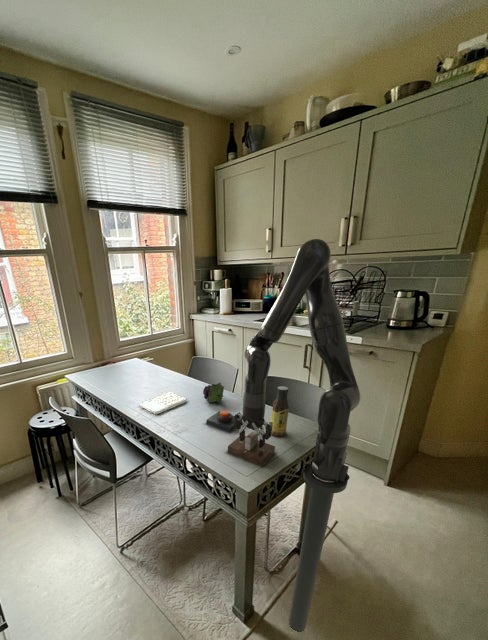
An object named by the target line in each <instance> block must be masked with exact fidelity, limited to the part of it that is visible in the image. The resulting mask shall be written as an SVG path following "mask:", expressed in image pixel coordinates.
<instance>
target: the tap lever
mask: <svg viewBox="0 0 488 640" xmlns="http://www.w3.org/2000/svg"><path fill="white" fill-rule="evenodd" d="M245 436H246V439H245V449H247V450H249V451H250V450H251V449H252V448H253V447H254V446H255V445H256V444H257V443H258V440H259V435H258V434H257V433H256V431H255V430H252V431H250V433H249V434H247V435H245Z"/></svg>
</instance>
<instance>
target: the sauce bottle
mask: <svg viewBox="0 0 488 640" xmlns="http://www.w3.org/2000/svg"><path fill="white" fill-rule="evenodd" d="M276 391H277V393H276V399H275V400H274V401H273V403H272V409H271V417H270V422H272V423H273V426H272V433H271V436H272V435H273V436H275V437H282V436H284V435H285V434H286V431H287V425H288V418H289V410H290V406H289V401H288V394H289V387H287V386H285V385H282V386H277V390H276Z"/></svg>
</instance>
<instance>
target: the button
mask: <svg viewBox="0 0 488 640" xmlns="http://www.w3.org/2000/svg"><path fill="white" fill-rule="evenodd" d="M229 413H230V412H229V411H228V410H221V411H220V416H221V417H223V418H227V417H228V416H229Z"/></svg>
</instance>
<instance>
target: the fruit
mask: <svg viewBox="0 0 488 640" xmlns="http://www.w3.org/2000/svg"><path fill="white" fill-rule="evenodd" d="M224 390H225V385H224V386H223V385H222V383H221V382H218V383H216V384H208V385H205V386H204V388H203V390H202V394H203V398H204V399H205V400H206V401H207V403H212V402H213V403H215V402H217V403H218V404H220V403H221V402H222V400H223V397H224Z"/></svg>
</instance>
